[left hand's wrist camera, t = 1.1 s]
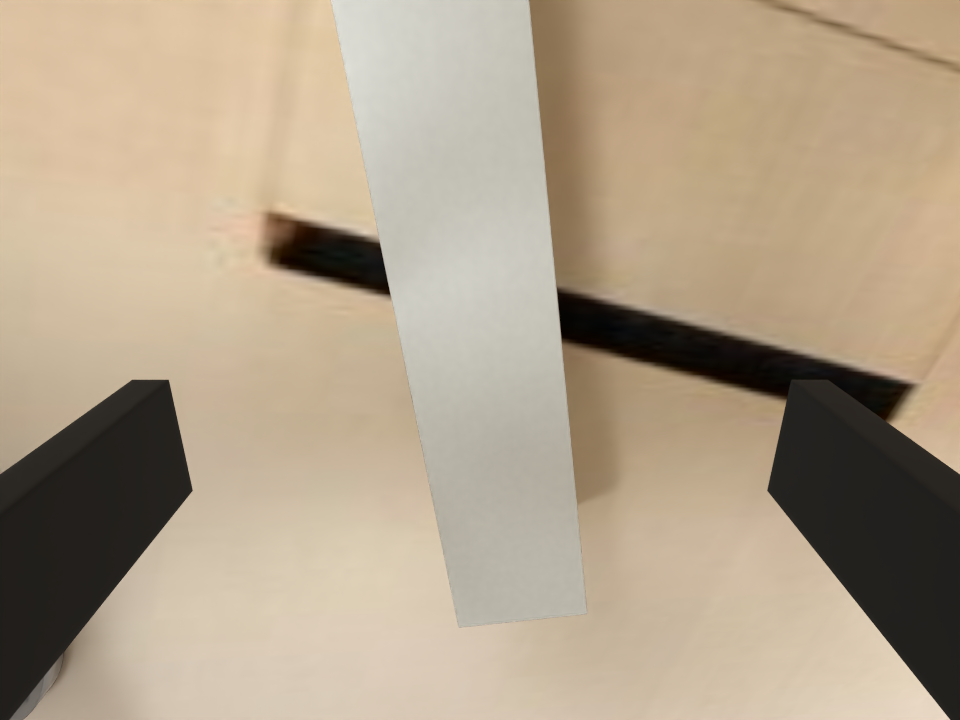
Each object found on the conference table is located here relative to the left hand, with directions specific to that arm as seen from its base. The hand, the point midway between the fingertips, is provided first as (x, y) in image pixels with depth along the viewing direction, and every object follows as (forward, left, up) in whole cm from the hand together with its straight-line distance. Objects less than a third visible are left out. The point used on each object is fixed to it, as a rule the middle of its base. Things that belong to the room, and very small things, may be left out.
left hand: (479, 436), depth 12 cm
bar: (+8, +14, -15) cm, 22 cm away
